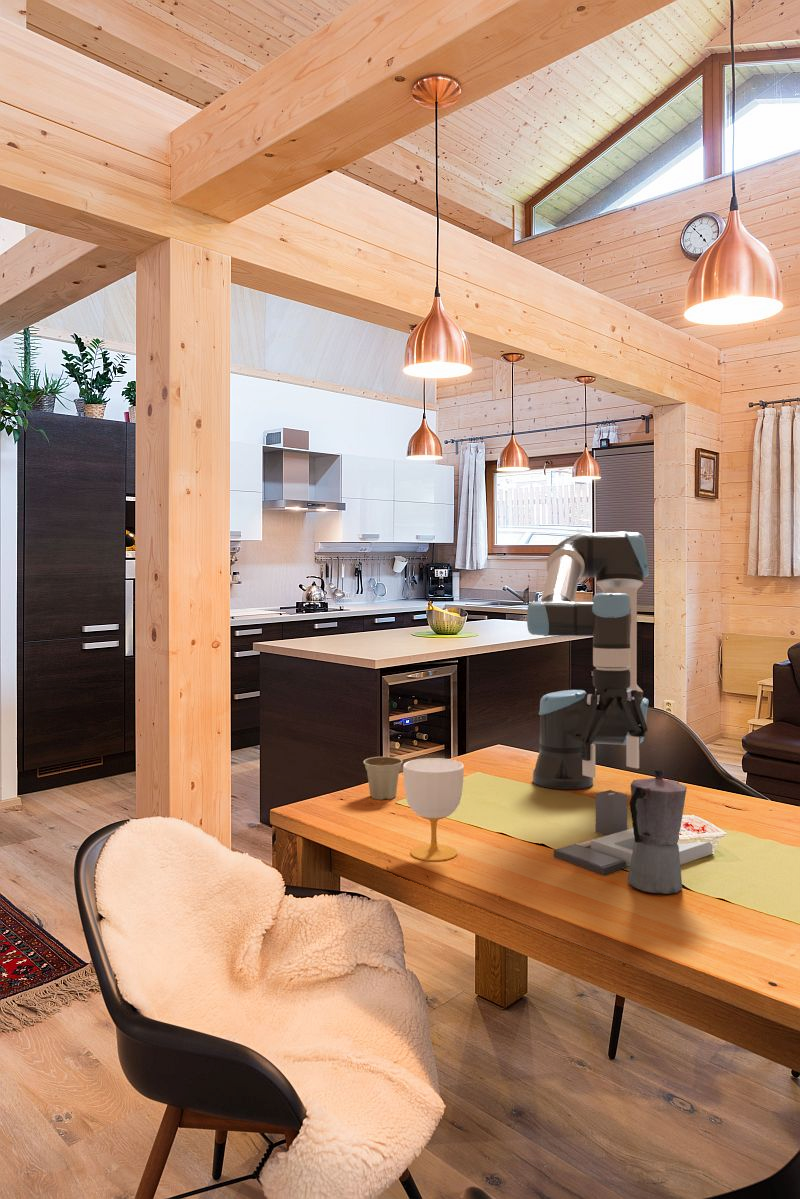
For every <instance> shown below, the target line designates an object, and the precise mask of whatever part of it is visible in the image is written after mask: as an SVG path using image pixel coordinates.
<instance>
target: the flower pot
mask: <svg viewBox="0 0 800 1199" xmlns="http://www.w3.org/2000/svg"><path fill="white" fill-rule="evenodd" d="M363 764H364V767H365V770H366V772H367V774H366V775H367V780H368V787H369V788H368V789H369V794H370V797H371V798H372V799H375V800H379V801H383V800H385V799H387V800H392V799H394V798H396V796H397V792H398V790H397V789H398V783H399V777H400V776H399V775H400V769H401V768H402V764H403V759H401V758H398V757H393V756H373V757H369V758H366V759H364V760H363Z"/></svg>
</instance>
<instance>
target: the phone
mask: <svg viewBox="0 0 800 1199" xmlns="http://www.w3.org/2000/svg"><path fill="white" fill-rule="evenodd" d="M578 844H579V843H574V844H570V845H566V846H563V847H560V848H558V849H553V857H554V858H557V859H560V860H562V861H565V862H568V863H570V864H573V865H575V866H578V867H581V868H584V869H587V870H589V871H592V872H594V873H597V874H599V875H602V876H605V875H608V874H611V873H614V872H618V871H620V870H623V869H624V870H625V869H627V866H626V861H624V860H621V859H618V858H615V857H612V856H609V855H606V854H603V853H601V852H598V851H595V850H592V849H591V848H589V847H583V846H580V845H578Z"/></svg>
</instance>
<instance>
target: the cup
mask: <svg viewBox="0 0 800 1199" xmlns="http://www.w3.org/2000/svg"><path fill="white" fill-rule="evenodd" d="M464 766H465V765H464V763H463V762H460V761H459V760H454V759H450V758H441V757H440V758H439V757H438V758H437V757H436V758H435V757H427V758H426V757H425V758H416V759H412V760H409V761H406V762H405V763H403V766H402V774H403V785H404V792H405V797H406V801H407V804H408V806H409V807H410V809H411V811H412V812H414V813H415V814H416V815H417V816H419V817H421V818H422V819H425V820H428V821H429V823H430V829H431V831H430V833H431V835H430V836H431V840H430V843H429V844H421V845H418V846H414V847H413V848H412V849H410V855H411V856H412V857H413V858H415V859H417V860H421V861H424V862H425V861H426V862H443V861H444V862H445V861H449V860H452V859H454V858H456V856H458V850H457V849H455V848H454V847H452V846H449V845H445V844H439V843H438V842H437V839H438V838H437V824H438V822H439V820H443V819H445V818H447V817H450V816H451V815H452V814H453V813H454V812H456V810H457V808H458V806H459V805H460V802H461V798H462V795H463V786H464V770H465V767H464Z"/></svg>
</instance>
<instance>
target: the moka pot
mask: <svg viewBox="0 0 800 1199" xmlns="http://www.w3.org/2000/svg"><path fill="white" fill-rule="evenodd" d="M664 773H665V770H663V769H661V768H657V769H654V774H655V777H654V778H653V777H652V778H640V779H638V778H637V779H633V781H632V782H631V783H630V793H631V794H630V795H631V797H630V800H629V811H630V814H631V822H632V823H631V824H632V828H633V830H634V837H635V841H634V846H633V852H632V857H631V863H630V867H629V869H628V873H627V882H628V884H629V885H630V886H631V887H633V888H635V889H637V890H640V891H642V892H646V893H651V894H661V895H665V894H666V895H668V894H670V895H671V894H677V893H679V892H680V891H682V889H683V881H682V869H681V868H682V867H681V865H680V856H679V846H678V844H677V843H678V840H679V832H681V826H682V820H683V814H684V809H685V808H684V807H685V801H686V796H687V790H688V789H687V786H686V785H684V784H680V782H679V781H677V780H672V779H666V778H663V777H664Z"/></svg>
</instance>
